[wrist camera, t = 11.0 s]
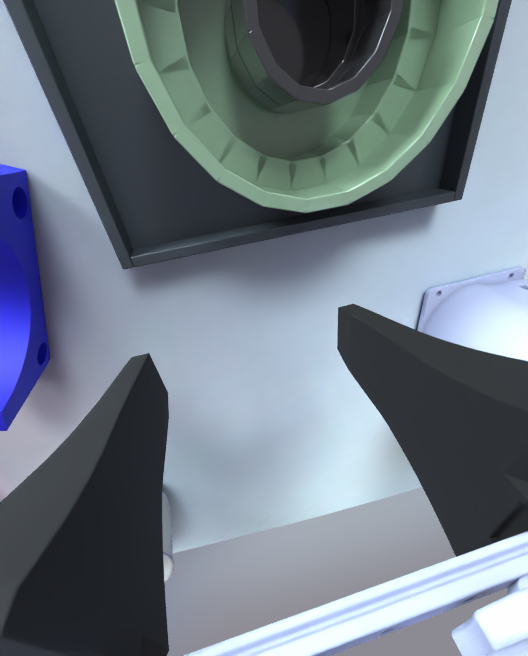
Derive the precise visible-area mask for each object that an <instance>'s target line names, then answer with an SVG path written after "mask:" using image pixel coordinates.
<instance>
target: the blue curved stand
mask: <svg viewBox="0 0 528 656" xmlns="http://www.w3.org/2000/svg"><path fill="white" fill-rule="evenodd" d="M49 361H50V353H49V345H48V337H47V330H46V322H45V314H44V306H43V299H42V291H41V283H40V275H39V268H38V260H37V252H36V244H35V237H34V229H33V221H32V213H31V206H30V198H29V190H28V182H27V174H26V170H23V169H18V168H14V167H10V166H6V165H1V164H0V431H7V430H8V428H9V426H10V425H11V423H12V421H13V420H14V418H15V417H16V415H17V413H18V412H19V410H20V408H21V407H22V405H23V403H24V402H25V400H26V399H27V397H28V395H29V394H30V392H31V390H32V389H33V387H34V385H35V384H36V382H37V380H38V379H39V377H40V376H41V374H42V372H43V371H44V369H45V367H46V366H47V364H48V362H49Z"/></svg>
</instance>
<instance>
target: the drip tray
mask: <svg viewBox="0 0 528 656" xmlns="http://www.w3.org/2000/svg"><path fill="white" fill-rule="evenodd" d="M3 1H4V3H5V5H6V8H7V10H8V12H9V14H10V17H11V19H12V21H13V23H14V26H15V28H16V30H17V32H18V35H19V37H20V39H21V41H22V44H23V46H24V48H25V50H26V53H27V55H28V57H29V59H30V62H31V64H32V66H33V68H34V70H35V73H36V75H37V77H38V79H39V82H40V84H41V86H42V88H43V91H44V93H45V95H46V97H47V100H48V102H49V104H50V106H51V109H52V111H53V113H54V115H55V118H56V120H57V122H58V124H59V127H60V129H61V131H62V133H63V135H64V138H65V140H66V142H67V144H68V147H69V149H70V151H71V153H72V156H73V158H74V160H75V162H76V165H77V167H78V169H79V171H80V174H81V176H82V178H83V180H84V183H85V185H86V187H87V189H88V192H89V194H90V196H91V198H92V201H93V203H94V205H95V207H96V209H97V212H98V214H99V216H100V218H101V221H102V223H103V225H104V227H105V230H106V232H107V234H108V236H109V239H110V241H111V243H112V245H113V248H114V250H115V252H116V254H117V257H118V259H119V261H120V263H121V266H122V268H123V269H128V268H133V267H137V266H142V265H147V264H152V263H157V262H162V261H166V260H171V259H176V258H181V257H186V256H191V255H195V254H200V253H205V252H210V251H215V250H220V249H224V248H229V247H234V246H239V245H244V244H249V243H253V242H258V241H263V240H268V239H273V238H278V237H282V236H287V235H292V234H297V233H302V232H307V231H311V230H316V229H321V228H326V227H331V226H336V225H341V224H345V223H350V222H355V221H360V220H365V219H370V218H374V217H379V216H384V215H389V214H394V213H399V212H403V211H408V210H413V209H418V208H423V207H428V206H432V205H437V204H442V203H447V202H452V201H457V200H461V199H462V196H463V192H464V188H465V184H466V180H467V176H468V172H469V168H470V164H471V160H472V156H473V152H474V148H475V144H476V140H477V136H478V132H479V129H480V125H481V121H482V117H483V113H484V109H485V105H486V101H487V97H488V93H489V89H490V85H491V81H492V77H493V73H494V69H495V65H496V61H497V57H498V53H499V49H500V45H501V41H502V37H503V33H504V29H505V25H506V21H507V17H508V13H509V9H510V5H511V1H512V0H499V1H498V6H497V10H496V14H495V17H494V22H493V24H492V26H491V29H490V31H489V33H488V36H487V38H486V41H485V43H484V45H483V48H482V50H481V52H480V55H479V57H478V60H477V62H476V64H475V67H474V69H473V71H472V74H471V76H470V79H469V81H468V83H467V86H466V88H465V90H464V92H463V93H462V95H461V96H460V98H459V99H458V101H457V102H456V104H455V105H454V107H453V108H452V110H451V111H450V113H449V115H448V116H447V118H446V119H445V121H444V122H443V124H442V125H441V127H440V128H439V130H438V131H437V133H436V134H435V136H434V137H433V139H432V140H431V142H430V143H428V145H427V146H426V147H425V148H424V149H423V150H422V151H421V152H420V153H419V154H418V155H417V156H416V157H415V158H414V159H413V160H412V161H411V162H410V163H409V164H407V165H406V166H405V167H404V168H403V169H402V170H401V171H400V172H399V173H398V174H397V175H396V176H395V177H394V178H393V179H392V180H391V181H389V182H388V183H386V184H384V185H383V186H381V187H379V188H377V189H376V190H374V191H372V192H370V193H368V194H367V195H365V196H363V197H361V198H359V199H358V200H356V201H354V202H352V203H350V204H348V205H345V206H339V207H334V208H329V209H324V210H319V211H314V212H309V213H302V212H295V211H289V210H282V209H276V208H269V207H263V206H262V205H261V206H260V205H258V204H256V203H255V202H253V201H251V200H249V199H247V198H245V197H244V196H242V195H240V194H238V193H236V192H234V191H233V190H231V189H229V188H227V187H225V186H223V185H222V184H220V183H218V182H217V181H215V180H214V178H213V177H212V176H211V175H210V174H209V173H208V172H207V171H206V170H205V169H204V168H203V167H202V166H201V165H200V164H199V163H198V162H197V161H196V160H195V159H194V158H193V157H192V156H191V155H190V154H189V153H188V152H187V151H186V149H185V148H184V147H183V146H182V145H181V144H180V143H179V142H178V141H177V140H176V139H175V138H174V136H173V135H172V134H171V132H170V130H169V128H168V126H167V125H166V123H165V121H164V119H163V118H162V116H161V114H160V112H159V110H158V109H157V107H156V105H155V103H154V101H153V100H152V98H151V96H150V94H149V92H148V91H147V89H146V87H145V85H144V84H143V82H142V80H141V78H140V76H139V75H138V73H137V71H136V69H135V66H134V64H133V62H132V58H131V55H130V51H129V48H128V45H127V41H126V38H125V34H124V31H123V28H122V24H121V21H120V17H119V14H118V11H117V7H116V4H115V0H3Z"/></svg>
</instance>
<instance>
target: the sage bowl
mask: <svg viewBox="0 0 528 656" xmlns="http://www.w3.org/2000/svg"><path fill="white" fill-rule="evenodd" d="M498 1H499V0H403V9H402V13H401V17H400V20H399V22H398V25H397V27H396V30H395V33H394V35H393V38H392V40H391V43H390V45H389V48H388V50H387V53H386V55H385V58H384V59H383V61H382V62H381V64H380V65H379V66H378V67H377V68H376V70H375V71H374V72H373V73H372V74H371V76H370V77H369V78H368V79H367V80H366V82H365V83H364V84H363V85H362V86H361V88H360V89H359V90H357V91H356V92H355V93H352V94H350V95H348V96H346V97H344V98H342V99H339V100H337V101H335V102H333V103H331V104H329V105H325V106H320V107H316V108H312V109H307V110H303V111H299V112H295V113H285V112H278V111H270V110H268V109H266V108H265V107H263V106H262V105H261V104H260V103H258V102H257V101H256V100H255V99H253V98H252V97H251V96H250V95H248V94H247V92H246V91H245V89H244V88H243V86H242V84H241V82H240V80H239V78H238V76H237V74H236V72H235V70H234V68H233V67H232V65H231V61H230V58H229V51H228V44H227V37H226V31H225V15H226V9H227V4H228V0H115V4H116V7H117V11H118V14H119V17H120V21H121V24H122V28H123V31H124V34H125V38H126V41H127V45H128V48H129V51H130V55H131V58H132V62H133V64H134V66H135V69H136V71H137V73H138V75H139V76H140V78H141V80H142V82H143V84H144V85H145V87H146V89H147V91H148V92H149V94H150V96H151V98H152V100H153V101H154V103H155V105H156V107H157V109H158V110H159V112H160V114H161V116H162V118H163V119H164V121H165V123H166V125H167V126H168V128H169V130H170V132H171V134H172V135H173V136H174V138H175V139H176V140H177V141H178V142H179V143H180V144H181V145H182V146H183V147H184V148H185V149H186V151H187V152H188V153H189V154H190V155H191V156H192V157H193V158H194V159H195V160H196V161H197V162H198V163H199V164H200V165H201V166H202V167H203V168H204V169H205V170H206V171H207V172H208V173H209V174H210V175H211V176H212V177H213V178H214V180H215V181H217V182H218V183H220V184H222V185H223V186H225V187H227V188H229V189H231V190H233V191H234V192H236V193H238V194H240V195H242V196H244V197H245V198H247V199H249V200H251V201H253V202H255V203H256V204H258V205H260V206H261V205H262V206H263V207H269V208H276V209H282V210H289V211H295V212H302V213H309V212H314V211H319V210H324V209H329V208H334V207H339V206H345V205H348V204H350V203H352V202H354V201H356V200H358V199H359V198H361V197H363V196H365V195H367V194H368V193H370V192H372V191H374V190H376V189H377V188H379V187H381V186H383V185H384V184H386V183H388V182H389V181H391V180H392V179H393V178H394V177H395V176H396V175H397V174H398V173H399V172H400V171H401V170H402V169H403V168H404V167H405V166H406V165H407V164H409V163H410V162H411V161H412V160H413V159H414V158H415V157H416V156H417V155H418V154H419V153H420V152H421V151H422V150H423V149H424V148H425V147H426V146H427V145H428V143H430V142H431V140H432V139H433V137H434V136H435V134H436V133H437V131H438V130H439V128H440V127H441V125H442V124H443V122H444V121H445V119H446V118H447V116H448V115H449V113H450V111H451V110H452V108H453V107H454V105H455V104H456V102H457V101H458V99H459V98H460V96H461V95H462V93H463V92H464V90H465V88H466V86H467V83H468V81H469V79H470V76H471V74H472V71H473V69H474V67H475V64H476V62H477V60H478V57H479V55H480V52H481V50H482V48H483V45H484V43H485V41H486V38H487V36H488V33H489V31H490V29H491V26H492V24H493V22H494V17H495V14H496V10H497V6H498Z"/></svg>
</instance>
